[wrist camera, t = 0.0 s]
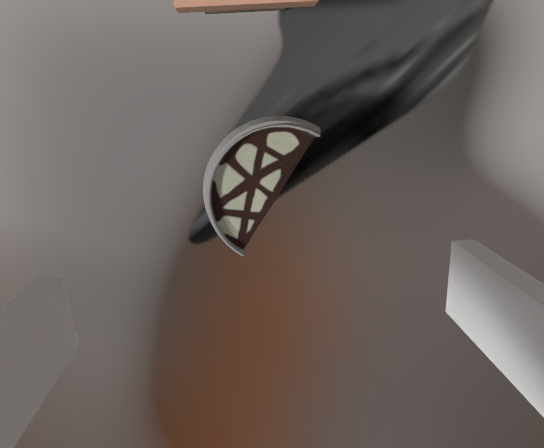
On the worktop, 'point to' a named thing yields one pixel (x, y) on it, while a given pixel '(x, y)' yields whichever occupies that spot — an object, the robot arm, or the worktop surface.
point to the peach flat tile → (237, 5)
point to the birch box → (244, 10)
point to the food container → (252, 174)
